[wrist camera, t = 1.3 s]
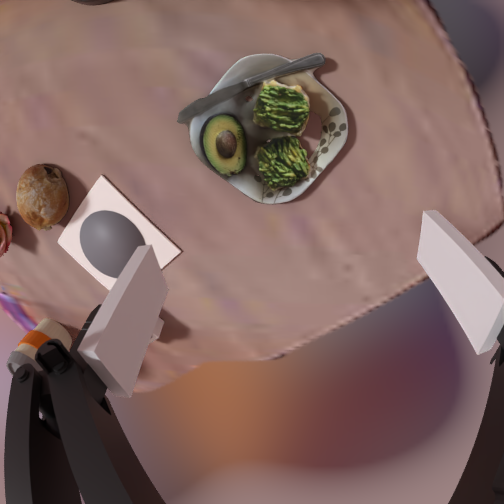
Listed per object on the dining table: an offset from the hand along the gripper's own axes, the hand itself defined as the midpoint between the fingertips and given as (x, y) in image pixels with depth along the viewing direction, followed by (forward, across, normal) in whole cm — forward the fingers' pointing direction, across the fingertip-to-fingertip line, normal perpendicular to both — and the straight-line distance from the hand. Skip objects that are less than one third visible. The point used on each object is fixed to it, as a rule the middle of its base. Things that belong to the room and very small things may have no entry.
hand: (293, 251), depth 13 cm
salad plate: (+24, -1, +2) cm, 25 cm away
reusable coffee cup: (+24, -53, -29) cm, 65 cm away
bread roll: (+24, -35, +1) cm, 42 cm away
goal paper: (+24, -26, -10) cm, 36 cm away
